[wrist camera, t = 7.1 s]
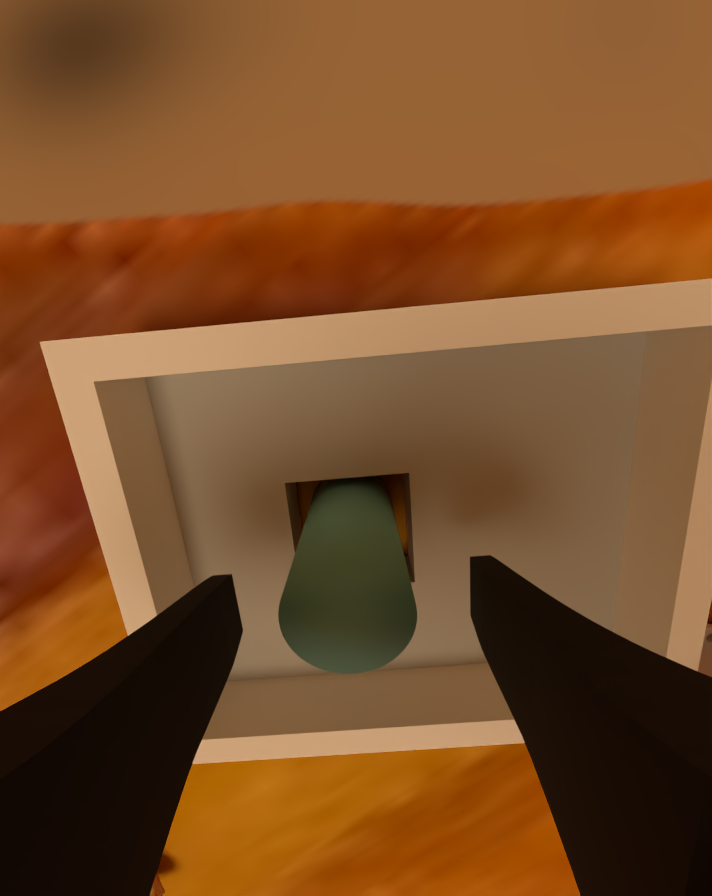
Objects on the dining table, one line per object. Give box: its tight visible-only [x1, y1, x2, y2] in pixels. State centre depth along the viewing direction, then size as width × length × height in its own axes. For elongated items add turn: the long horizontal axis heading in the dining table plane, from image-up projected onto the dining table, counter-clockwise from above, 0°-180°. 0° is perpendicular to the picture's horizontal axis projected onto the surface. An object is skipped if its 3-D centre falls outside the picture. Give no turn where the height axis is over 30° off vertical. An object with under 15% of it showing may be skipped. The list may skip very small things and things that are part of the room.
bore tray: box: [40, 279, 712, 764], centre depth 14 cm, size 20×16×4 cm
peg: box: [278, 476, 417, 674], centre depth 12 cm, size 4×4×7 cm
